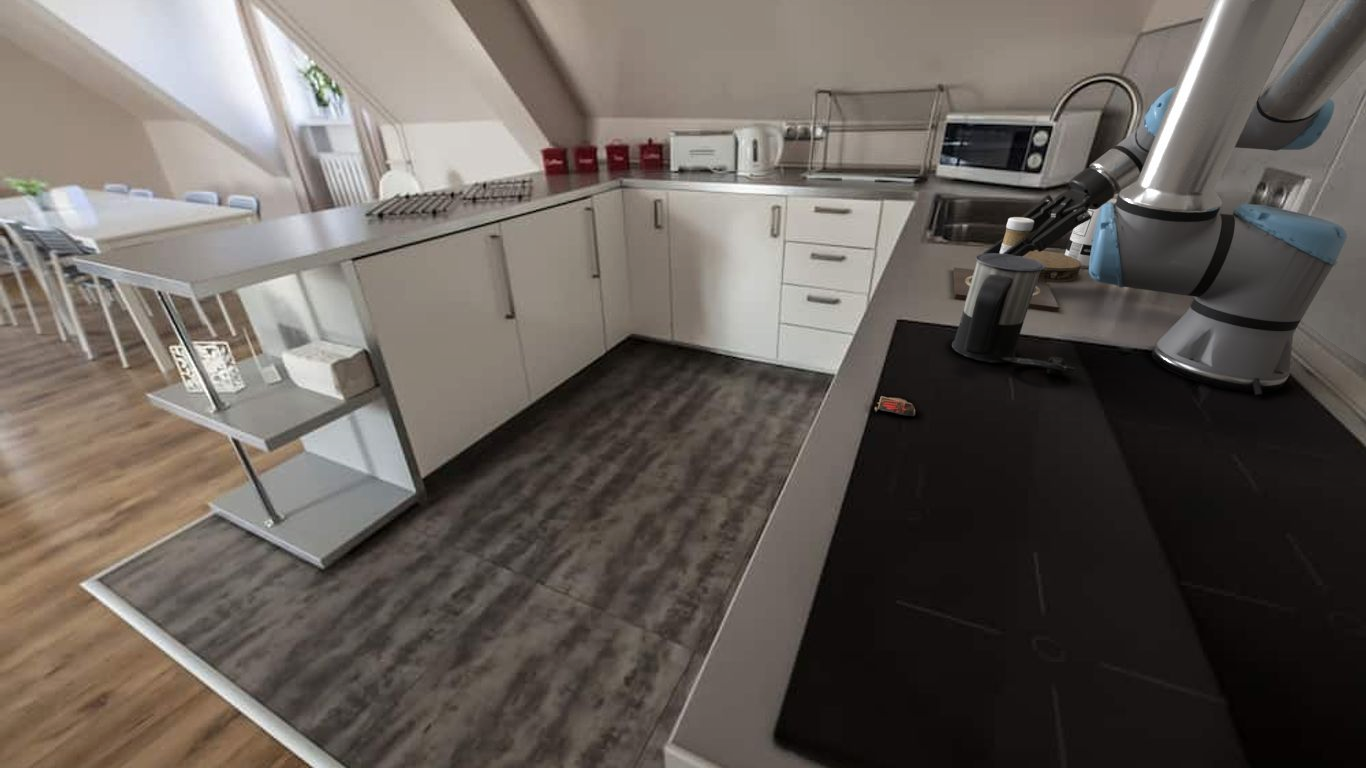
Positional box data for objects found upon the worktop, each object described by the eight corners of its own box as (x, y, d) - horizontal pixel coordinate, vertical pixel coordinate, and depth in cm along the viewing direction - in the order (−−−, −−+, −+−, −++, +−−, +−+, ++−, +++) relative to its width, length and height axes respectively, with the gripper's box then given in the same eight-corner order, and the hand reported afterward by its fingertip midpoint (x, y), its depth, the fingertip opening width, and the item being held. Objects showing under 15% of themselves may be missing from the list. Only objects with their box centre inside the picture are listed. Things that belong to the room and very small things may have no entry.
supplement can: (1069, 257, 139) (1091, 195, 132) (1107, 265, 134) (1132, 200, 127) (1056, 263, 135) (1078, 199, 128) (1095, 271, 129) (1120, 204, 122)
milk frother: (950, 336, 94) (973, 249, 87) (1056, 351, 89) (1090, 260, 82) (953, 371, 83) (980, 274, 76) (1075, 391, 78) (1116, 289, 71)
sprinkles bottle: (1019, 286, 115) (1040, 220, 109) (1004, 289, 113) (1024, 222, 107) (999, 280, 119) (1018, 215, 112) (985, 282, 117) (1003, 217, 110)
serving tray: (1057, 312, 105) (1059, 306, 105) (954, 298, 111) (956, 293, 111) (1042, 282, 122) (1044, 277, 121) (953, 271, 128) (954, 266, 127)
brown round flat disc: (986, 260, 136) (990, 248, 135) (1052, 262, 136) (1056, 249, 134) (1018, 280, 122) (1022, 267, 121) (1092, 282, 122) (1097, 269, 120)
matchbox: (917, 418, 71) (918, 414, 70) (876, 414, 71) (876, 411, 71) (910, 400, 75) (910, 396, 74) (870, 396, 75) (871, 393, 75)
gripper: (1141, 205, 99) (1019, 291, 108) (1083, 188, 114) (980, 265, 123) (1122, 173, 97) (999, 263, 105) (1066, 160, 112) (962, 240, 121)
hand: (989, 264), depth 114 cm, fingers closed on sprinkles bottle, 4 cm apart
